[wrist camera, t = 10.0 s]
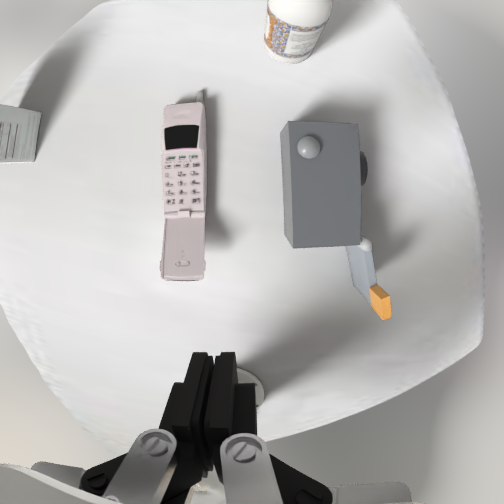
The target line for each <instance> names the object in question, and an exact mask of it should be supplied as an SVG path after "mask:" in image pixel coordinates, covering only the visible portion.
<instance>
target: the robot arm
mask: <svg viewBox="0 0 504 504" xmlns="http://www.w3.org/2000/svg"><path fill="white" fill-rule="evenodd" d="M263 400H264V388H263V385H262V384H261V382H260V380H259V379H258V378H257V377H256V376H254V375H253V374H251V373H249V372H247V371H245V370H242V369H239V368H237V365H236V356H235V352H221V355H220V356H216V358H215V363H214V362H213V357H212V356H208V354H207V352H193V354H192V357H191V360H190V364H189V367H188V370H187V373H186V377H185V380H184V383H179V382H175V383H174V385H173V387H172V390H171V393H170V396H169V399H168V402H167V405H166V408H165V411H164V414H163V417H162V420H161V423H160V426H159V429H150V430H147V431H144V432H143V433H141V434H140V435H139V436H138V437H137V438H136V440H135V442H134V443H133V445H132V447H131V448H130V450H129V452H128V453H126V454H124V455H121V456H119V457H117V458H114V459H112V460H110V461H107V462H105V463H103V464H100V465H97V466H95V467H92V468H90V469H88V470H87V471H86V470H84V469H83V468H78V467H71V466H65V465H59V464H54V463H48V462H38V463H35V464H34V465H33V466H32V468H31V469H29V468H26V467H22V466H18V465H13V464H0V504H425V503H415V502H412V500H411V492H410V489H409V487H408V486H407V485H405V484H404V483H401V482H384V483H373V484H357V485H339V487H326V486H325V485H323V484H321V483H319V482H318V481H316V480H314V479H312V478H310V477H308V476H306V475H304V474H303V473H301V472H299V471H297V470H296V469H294V468H292V467H290V466H289V465H287V464H285V463H284V462H282V461H280V460H279V459H277V458H276V457H274V456H272V455H271V454H269V452H268V449H267V445H266V443H265V441H264V440H262V439H261V438H260V437H258V436H257V412H256V410H257V409H258V408H259V407H260V406H261V405H262V403H263ZM195 484H197V485H198V487H199V488H200V489H201V490H202V491H195Z"/></svg>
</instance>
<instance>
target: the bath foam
mask: <svg viewBox="0 0 504 504" xmlns="http://www.w3.org/2000/svg"><path fill="white" fill-rule="evenodd" d="M331 10H332V0H268V4H267V14H266V23H265V33H264V47H265V50H266V52H267V53H268V54H269V56H271V57H272V58H273V59H275V60H276V61H279V62H282V63H287V64H295V63H299V62H302V61H304V60H305V59H307V58H308V56H309V55H310V54H311V52H312V50H313V48H314V46H315V44H316V42H317V40H318V39H319V37H320V35H321V33H322V31H323V29H324V27H325V25H326V23H327V21H328V18H329V16H330V14H331Z"/></svg>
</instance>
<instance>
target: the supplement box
mask: <svg viewBox="0 0 504 504" xmlns="http://www.w3.org/2000/svg"><path fill="white" fill-rule="evenodd" d="M41 114H42V113H41V112H37V111H33V110H28V109H23V108H18V107H13V106H7V105H2V104H0V164H14V163H29V162H34V159H35V150H36V143H37V136H38V130H39V124H40V119H41Z"/></svg>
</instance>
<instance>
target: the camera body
mask: <svg viewBox="0 0 504 504" xmlns="http://www.w3.org/2000/svg"><path fill="white" fill-rule="evenodd" d="M280 136H281V155H282V176H283V201H284V233H285V236H286V238H287V239H288V241H289V243H290V244H291V246H292V248H312V247H333V246H354V245H360V234H361V185H363V184H364V183H365V181H366V178H367V161H366V157H365V155H364V153H363V152H361V151H360V150H359V134H358V124H350V123H335V122H310V121H288V122H287V124H286V125H285V127H284V128H283V130H282V131H281V133H280Z"/></svg>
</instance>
